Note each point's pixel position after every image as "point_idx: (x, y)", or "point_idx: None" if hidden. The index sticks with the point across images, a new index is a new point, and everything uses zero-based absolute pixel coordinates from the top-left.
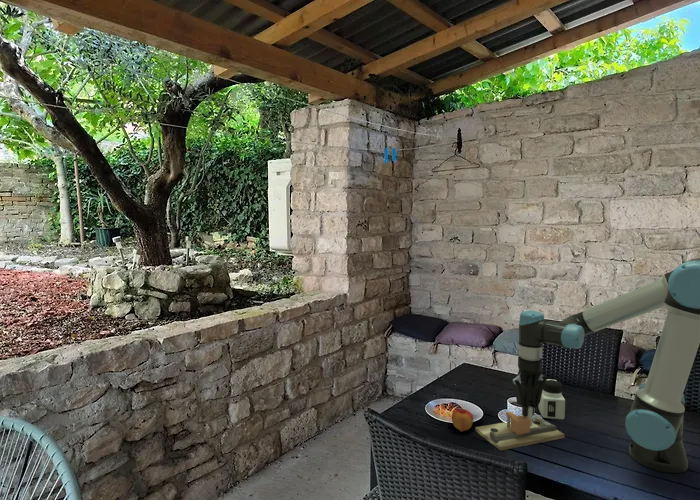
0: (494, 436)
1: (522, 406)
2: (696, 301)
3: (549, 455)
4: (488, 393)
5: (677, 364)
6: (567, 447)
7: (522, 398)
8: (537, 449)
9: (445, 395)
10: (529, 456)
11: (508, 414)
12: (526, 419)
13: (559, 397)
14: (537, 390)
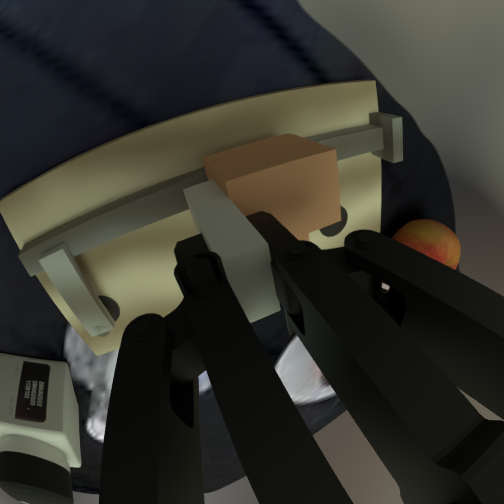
0: (397, 126)
1: (364, 229)
2: None
3: (161, 2)
4: (210, 443)
5: None
6: (22, 93)
7: (434, 282)
8: (193, 58)
9: (323, 405)
10: (269, 7)
11: None
12: (254, 185)
13: (3, 434)
14: (179, 497)
